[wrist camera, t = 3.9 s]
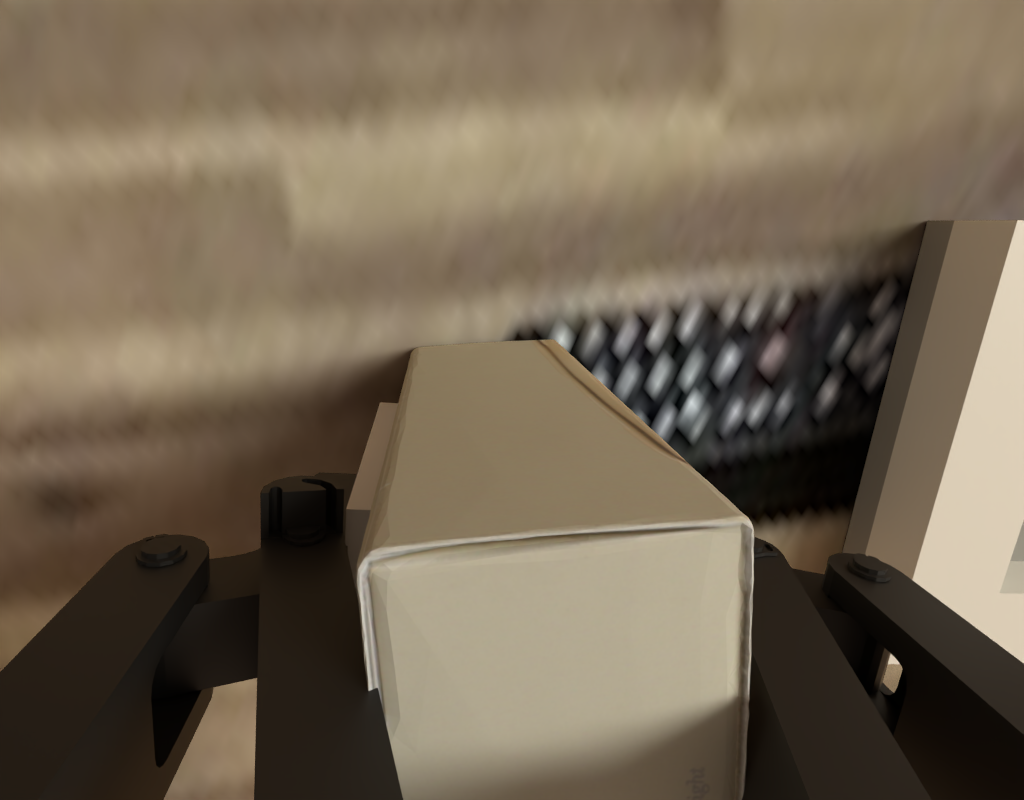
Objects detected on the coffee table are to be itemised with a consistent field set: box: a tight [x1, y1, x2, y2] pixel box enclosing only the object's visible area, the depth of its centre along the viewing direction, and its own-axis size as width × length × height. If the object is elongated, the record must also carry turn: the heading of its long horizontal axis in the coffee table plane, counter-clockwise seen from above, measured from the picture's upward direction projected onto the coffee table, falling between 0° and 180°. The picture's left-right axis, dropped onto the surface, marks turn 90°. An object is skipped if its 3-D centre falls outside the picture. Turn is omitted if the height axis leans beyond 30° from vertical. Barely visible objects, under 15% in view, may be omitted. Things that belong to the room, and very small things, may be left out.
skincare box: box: [356, 339, 754, 800], centre depth 13 cm, size 6×4×12 cm
